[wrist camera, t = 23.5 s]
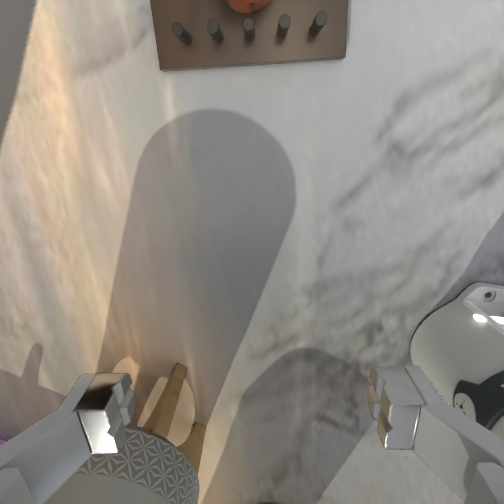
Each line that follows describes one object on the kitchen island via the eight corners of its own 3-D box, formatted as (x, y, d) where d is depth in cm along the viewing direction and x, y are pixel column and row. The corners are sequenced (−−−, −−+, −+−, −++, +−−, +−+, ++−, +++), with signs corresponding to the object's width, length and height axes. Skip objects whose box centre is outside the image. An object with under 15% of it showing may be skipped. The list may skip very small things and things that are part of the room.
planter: (236, 394, 50) (212, 652, 26) (174, 461, 56) (109, 720, 32) (125, 333, 46) (-23, 569, 22) (72, 412, 52) (-89, 664, 28)
